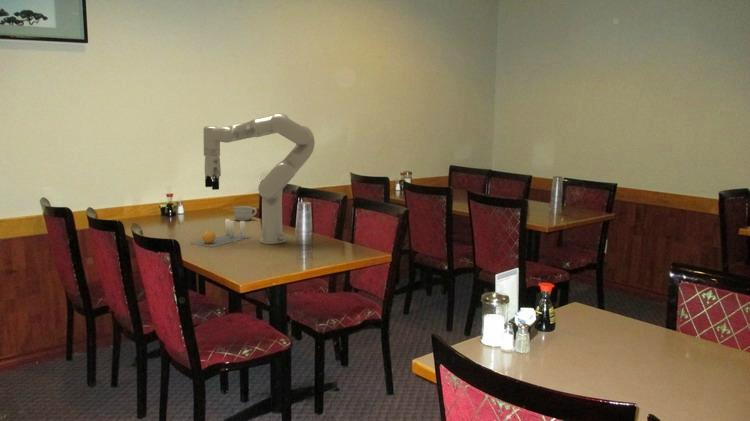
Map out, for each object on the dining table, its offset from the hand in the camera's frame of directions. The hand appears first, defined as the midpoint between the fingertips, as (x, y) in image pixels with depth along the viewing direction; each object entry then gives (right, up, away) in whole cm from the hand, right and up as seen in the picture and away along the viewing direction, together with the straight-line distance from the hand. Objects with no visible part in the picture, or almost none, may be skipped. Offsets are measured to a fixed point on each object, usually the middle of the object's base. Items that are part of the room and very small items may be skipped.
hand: (212, 188), depth 281 cm
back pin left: (+12, -25, +11) cm, 30 cm away
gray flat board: (+3, -25, +6) cm, 26 cm away
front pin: (+7, -24, +12) cm, 28 cm away
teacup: (+3, -17, +60) cm, 62 cm away
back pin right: (+4, -24, +16) cm, 29 cm away
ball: (-1, -23, -2) cm, 24 cm away
